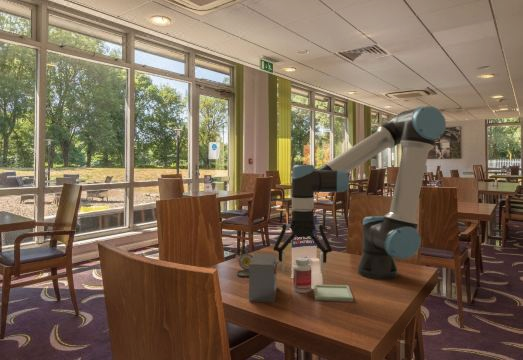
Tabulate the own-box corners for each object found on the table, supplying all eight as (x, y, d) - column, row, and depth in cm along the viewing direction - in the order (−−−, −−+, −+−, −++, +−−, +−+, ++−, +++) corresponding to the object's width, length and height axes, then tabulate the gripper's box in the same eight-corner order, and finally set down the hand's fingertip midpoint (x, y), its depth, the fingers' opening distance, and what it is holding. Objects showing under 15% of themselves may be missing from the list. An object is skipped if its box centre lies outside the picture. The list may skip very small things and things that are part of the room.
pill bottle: (314, 291, 127) (315, 259, 127) (301, 294, 124) (301, 262, 123) (303, 286, 133) (303, 255, 132) (289, 289, 129) (289, 258, 129)
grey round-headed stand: (240, 278, 142) (240, 252, 141) (232, 272, 149) (232, 247, 149) (259, 275, 145) (259, 250, 145) (251, 269, 153) (251, 245, 152)
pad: (348, 288, 130) (348, 285, 130) (353, 301, 118) (353, 297, 118) (313, 287, 131) (313, 284, 131) (315, 300, 119) (315, 296, 119)
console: (278, 287, 131) (278, 253, 131) (276, 302, 117) (276, 264, 117) (253, 286, 132) (253, 253, 131) (247, 301, 118) (247, 264, 117)
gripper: (338, 208, 129) (337, 269, 130) (267, 207, 132) (267, 267, 133) (340, 211, 122) (339, 275, 123) (266, 210, 124) (265, 273, 125)
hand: (302, 271), depth 128 cm, fingers open, 12 cm apart
